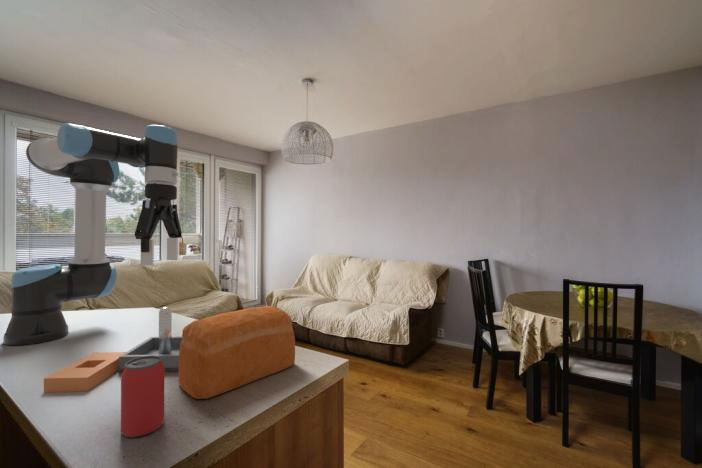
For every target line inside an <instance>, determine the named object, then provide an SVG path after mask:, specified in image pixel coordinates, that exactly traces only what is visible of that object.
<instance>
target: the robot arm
mask: <svg viewBox="0 0 702 468" xmlns="http://www.w3.org/2000/svg"><path fill="white" fill-rule="evenodd" d="M178 146H179V143H178V134H177V131H176V130H175V129H174V128H173V127H172V128H171V127H169V126H166V125H159V124H149V125H147V126H146V127H145V130H144V137H143V138H138V137H132V136H129V135H124V134H120V133H115V132H111V131H110V132H109V131H106V130H101V129H97V128H93V127H89V126H85V125H82V124H74V123H69V122H68V123H66V122H65V123H62V124H61V125H60V127H59V128H58V131H57V136H55V137H51V138H48V137H44V138H43V137H42V138H39V139H36V140H33V141H31V142H30V143H29V144H28V145H27V147H26V149H25V156H26V159H27V160H28V162H29V163H30V164H31V165H32V166H33V167H34V168H35V169H38V170H39V171H41V172H43V173H45V174H48V175H50V176H55V177H61V178H68V179H69V184H70V185H71V186H72V187H73V188H74V189H75V199H74V201H75V202H74V203H75V204H74V205H75V207H74V212H75V213H74V251H73V252H74V255H73V258H71V259H70V260H69V261H68V266H67V267H63V266H62V265H61V264H59V263H52V264H43V265H42V264H41V265H36V266H30V267H25V268H20V269H18V270H16V271H14V272H13V274H12V275H11V284H10V287H11V316H10V317H11V318H10V321H9V322H8V324H7V325H8V326H7V327H6V331H5V333H4V334H3V345H6V346H25V345H27V346H28V345H34V344H39V343H44V342H49V341H53V340H57V339H60V338H62V337H64V336H66V335H68V334H69V325H68V324H67V321H66V319H65V316H64V314H63V312H62V303H65V302H72V301H73V302H74V301H80V300H87V299H97V298H100V297H101V298H102V297H106V296H108V295H110V294H111V293H112V291H113V290H114V288H115V286H116V283H117V277H118V276H117V275H118V274H117V269H116V267H115V266H114V265H113V264H111V260H110V259H109V258H107V256H106V229H107V228H106V227H107V226H106V223H107V221H106V220H107V191H108V190H110V189H112V186H113V185H112V184H114V183H116V182H117V181H118V180H119V176H120V165H119V163H121V164H127V165H128V166H130V167H133V168H141V169H142V168H144V182H145V185H144V197H145V198H146V199H143V200H142V205H141V206H142V207H141V211H140V213H139V217H138V222H137V223H136V228H135V231H134V237H135V239H136V240H140V266H154V252H155V251H154V242H155V241H154V239H152V238H153V236H154V233H155V231H156V230H157V229H156V228H157V226H158V225H159V221H162V223H163V226H164V228H165V230H166V233H167V236H168V237H167V238H166V260H167V261H178V259H179V257H178V254H179V253H178V251H179V250H178V249H179V247H178V246H179V240H178V239H180V238H182V237H183V235H182V234H183V233H182V229H181V228H182V227H181V224H180V223H181V222H180V220H179V213H178V205H177V203H172V201H175V200H177V198H178V197H177V196H178V191H177V190H178V188H177V186H176V185H177V183H178V179H177V178H178V176H179V173H178V172H177V171H178ZM147 199H148V200H147Z"/></svg>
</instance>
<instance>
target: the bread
mask: <svg viewBox="0 0 702 468" xmlns="http://www.w3.org/2000/svg"><path fill="white" fill-rule="evenodd" d="M181 336H182V342H181V344H180V349H179V371H178V384H179V386H180V387H181V389H182V390H183V391H184V392H186V393H187V394H188V395H189V396H190V397H193V398H194V399H196V400H203V399H204V400H206V399H210V398H213V397H216V396H218V395H221V394H224V393H226V392H229V391H232V390H234V389H237V388H239V387H242V386H245V385H247V384H250V383H252V382H255V381H257V380H260V379H262V378H265V377H266V378H267V377H268V376H270V375H274V374H276V373H278V372H281V371H283V370H286V369H289V368H290V367H292V366H294V365H295V361H296V337H295V332H294V328H293V320H292V318H291V316H290V315H289V314H288V313H287V312H286V311H285V310H283V309H280V308H279V307H278V306H272V305H267V306H258V307H248V308H243V309H238V310H234V311H228V312H227V311H226V312H223V313H219V314H215V315H211V316H208V317H204V318H200V319H197V320H193V321H192V322H190V323H188V324H187V325H185V326H184V327H183V329H182V335H181ZM193 398H192V399H193Z"/></svg>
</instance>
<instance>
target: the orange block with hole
mask: <svg viewBox="0 0 702 468" xmlns="http://www.w3.org/2000/svg"><path fill="white" fill-rule="evenodd" d="M126 352H127V351H110V352H109V351H107V352H106V351H105V352H104V351H103V352H101V351H99V352H91V353H90V354H88V355H86V356H84V357H82V358H80V359H79V360H77V361H74V362H73V363H71V364H69V365H67V366H65V367H63V368H62V369H61V368H60V369H59V370H58V371H55V372H54V373H51V374H50V375H48V376H46V377H44V378H43V393H64V392H66V393H67V392H89V391H90V390H91V389H93V388H95V387H96V386H97V385H98V384H100V383H102V382H104V381H105V380H106V379H108V378H109V377H111V376H112V375H114V374H115V373H117V372H119V356H121V355H123V354H124V353H126Z"/></svg>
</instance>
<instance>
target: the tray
mask: <svg viewBox="0 0 702 468" xmlns="http://www.w3.org/2000/svg"><path fill="white" fill-rule="evenodd" d="M181 342H182V335H180V336H172V354H159V336H151V337H149V338H147V339H146V340H144V341H142V342H141V343H139V344H137V345H136V346H134V347H132V348H131V349H129V350H128V351H125V352H126V353H124V354H123V355H121V356H119V370H118V374H122V373H123V371H124V368H125V364H126V363H127V362H128V361H130V360H132V359H135V358H139V357H144V356H159V357H160V358H161V362H162V364H163V366H164V373H166V372H167V373H168V372H171V373H172V372H179V349H180V344H181Z"/></svg>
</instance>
